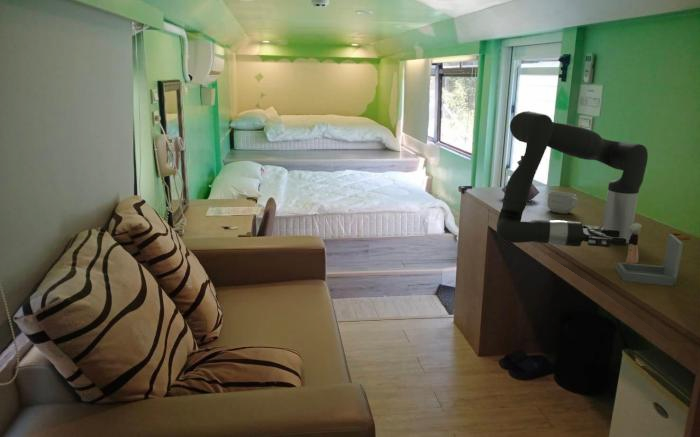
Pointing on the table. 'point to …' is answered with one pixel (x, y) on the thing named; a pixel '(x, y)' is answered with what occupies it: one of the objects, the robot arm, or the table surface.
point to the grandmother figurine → (633, 243)
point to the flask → (533, 189)
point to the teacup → (562, 202)
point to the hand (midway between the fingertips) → (622, 237)
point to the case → (655, 267)
